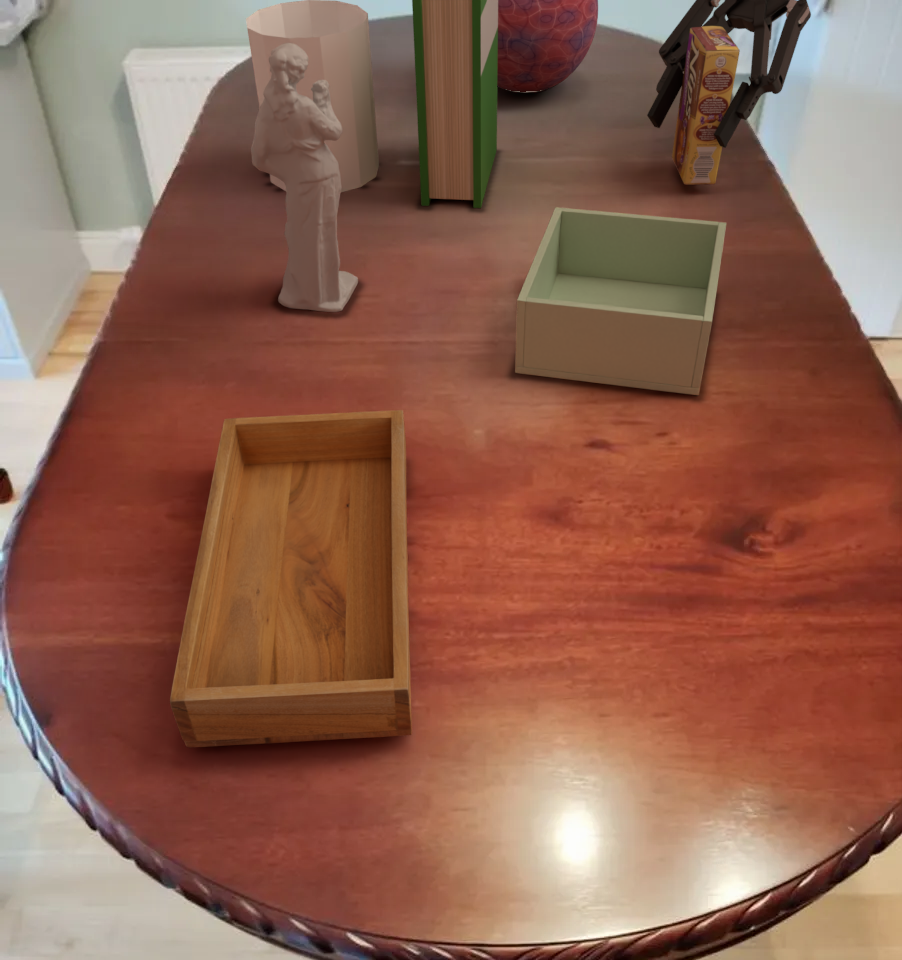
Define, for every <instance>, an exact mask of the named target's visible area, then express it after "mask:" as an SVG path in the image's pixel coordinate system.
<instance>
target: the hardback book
mask: <svg viewBox="0 0 902 960" xmlns="http://www.w3.org/2000/svg"><path fill="white" fill-rule="evenodd" d="M411 6H412V9H411V10H412V29H413V50H414V52H413V54H414V72H415V73H414V74H415V93H416V94H415V95H416V97H415V98H416V117H417V118H416V120H417V138H418V139H417V140H418V141H417V142H418V159H419V160H418V162H419V163H418V164H419V165H418V166H419V181H420V182H419V184H420V185H419V186H420V187H419V188H420V204H421V206H422V207H423V206H425V207H429V206H430V203H431V201H432V199H438V200H461V201H463V200H464V201H472V203H473V205H472V206H473V209H481V208H482V206H483V202H484V199H485V195H486V191H487V187H488V184H489V180H490V176H491V173H492V168H493V166H494V162H495V158H496V154H497V149H498V87H497V67H498V0H411Z"/></svg>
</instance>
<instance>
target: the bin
mask: <svg viewBox="0 0 902 960" xmlns="http://www.w3.org/2000/svg"><path fill="white" fill-rule="evenodd" d="M726 229H727V222H723V221H713V220H704V219H703V220H702V219H691V218H680V217H669V216H658V215H648V214H638V213H637V214H635V213H624V212H614V211H603V210H602V211H601V210H592V209H581V208H580V209H579V208H571V207H570V208H569V207H557V206H555V207H554V210H553V213H552V215H551V216H550V220H549V222H548V224H547V227H546V229H545V232H544V234H543V236H542V239H541V240H540V244H539V246H538V249H537V251H536V253H535V256H534V258H533V260H532V263H531V265H530V267H529V270H528V272H527V275H526V277H525V279H524V282H523V285H522V288H521V289H520V292H519V294H518V297H517V299H516V317H515V318H516V319H515V321H516V322H515V353H514V355H515V357H514V358H515V359H514V373H515V374H522V375H530V376H537V377H546V378H554V379H561V380H570V381H579V382H587V383H594V384H601V385H602V384H603V385H611V386H618V387H627V388H636V389H644V390H651V391H659V392H668V393H675V394H676V393H677V394H684V395H692V396H699V395H700V390H701V386H702V379H703V373H704V368H705V363H706V358H707V352H708V347H709V341H710V335H711V329H712V325H713V317H714V313H715V304H716V300H717V299H716V297H717V291H718V285H719V278H720V270H721V266H722V265H721V264H722V257H723V250H724V244H725V236H726Z"/></svg>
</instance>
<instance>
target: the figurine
mask: <svg viewBox="0 0 902 960" xmlns="http://www.w3.org/2000/svg"><path fill="white" fill-rule="evenodd" d="M308 60H309V59H308V56H307V54H306V52H305V51H304V50H303V49H301V48H300V47H299V46H298V45H296V44H292V43H285V44H282V45H280V46H278V47H276V48H275V49H273V50H272V51H271V56H270V57H269V63H270V72H271V73H272V75H271V79H270V81H269V82H268V84H267V86H266V87H265V89H264V93H263V95H264V100H263V102H262V104H261V106H260V108H259V107H258V111H257V115H256V118H255V122H254V134H253V140H252V144H251V147H250V153H251V162H252V163H251V165H252V166H253V167H255V168H256V169H257V170H258V171H260V172H262V173H263V172H264V173H266V174H269V175H270V174H271V175H273V176H275V177H277V178H278V179H280V180H281V181H283V182H284V183H285V185H286V191H285V192H286V195H285V213H286V222H285V224H284V232H283V235H284V238H285V241H286V244H287V250H288V251H287V252H288V254H287V256H288V257H287V262H286V267H285V270H284V274H283V277H282V287H281V289H280V293H279V295H278V299H277V301H278V303H279V304H281V306H283V307H286V308H288V309H297V310H309V311H310V310H311V311H318V312H324V313H325V312H326V313H327V312H328V313H337V312H338V313H339V312H342V311H343V310H344V308H345V306H347V304H348V302H349V300H350V299H351V297H352V295H353V293H354V291H355V289H356V288H357V286H358V285H359V278H358V276H356V275H354V274H353V273H351V272H348V271H345V270H340V268H341V258H340V257H341V256H340V249H339V241H338V213H339V206H340V199H341V193H342V192H341V189H342V187H341V178H340V171H339V164H338V161H337V160H336V158H335V157H334V155H333V154H332V152H331V151H330V149H329V148H328V146H327V145H326V144H325V143H324V141H325V140H332V141H336V140H338V139H339V138H340V136H341V134H342V126H341V123H340V122H339V121H338V119H337V117H336V116H335V114H334V112H333V109H332V106H331V98H330V94H329V90H328V89H329V86H330V85H329V84H328V82H327V81H326V80H317V82H315V83H313V87H312V88H311V90H312V92H313V100H311V99H310V98H308V97H306V96H303V95H300V94H298V93H297V90H296V84H297V83H298V82H299V81H300V80H301V79H303V78H304V77H305V75H304V72H305V70H306V69H307V67H308V62H307V61H308ZM340 192H341V193H340Z"/></svg>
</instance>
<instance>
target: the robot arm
mask: <svg viewBox="0 0 902 960" xmlns="http://www.w3.org/2000/svg"><path fill="white" fill-rule="evenodd" d="M720 3H721V0H695V1H694V2H693V4H692V5H691V6H690V8H689V9H688V10H687V11H686V13H685V14H684V15H683V17H682V19H681V20H680V21H679V22H678V24H677V25H676V26H675V28H674V29H673V30H672V32H671V33H670V35H669V36H668V37H667V38H666V40H665V41H664V42H663V44H662V45H661V46H660V48H659V49H658V55H659V56H660V58H661V59H662V62H663V64H664V65H665V69H664V71H663V73H662V74H661V77H660V78H659V81H658V82H657V84H656V88H655V91H656V92H657V95H656V97H655V99H654V100H653V103H652V105H651V107H650V108H649V110H648V113H647V114H646V116H647V117H648V119H649V121H650V122H651V124H652V126H653V127H654V128H657V129H660V128H661V126H662V124H663V123H664V121H665V118H666V116H667V115H668V113H669V111H670V109H671V107H672V105H673V103H674V102H675V100H676V98H677V96H678V94H679V93H680V91H681V89H682V82H683V75H684V68H685V61H686V54H687V48H688V41H689V34H690V28H693V27H702V26H720V27H723V28H724V29H725V31H726V32H727V33H728V34H730V33H731V32H732V31H733V30H734V29H736V30H743V29H744V30H747V31H748V32H750V33H753V41H752V54H751V67H750V75H749V76H748V80H749V81H750V83H748V82H746V81H741V83H740V84H739V86H738V89H737V90H736V92H735V94H734V96H733V97H732V99H731V101H730V105H729V107H728V109H727V111H726V113H725V115H724V116H723V118H722V120H721V122H720V124H719V126H718V128H717V129H716V131H715V133H714V136H715V137H716V139H717V141H718V143H719V145H720V146H721V147H722V148H727V146H728V144H729V143H730V140H732V137H733V135H734V133H735V131H736V130H737V127H738V126H739V124H740V122H741V120H744V121H747V119H749V117H751V115H752V113H753V111H754V109H755V107H756V105H757V103H758V102H759V100H760V98H761V97H762V96H763V95H764V94H766V93H772V94H773V95H778V94H780V93H781V92H782V91H783V87H784V85H785V81H786V78H787V75H788V72H789V69H790V66H791V62H792V60H793V56H794V53H795V51H796V47H797V44H798V41H799V38H800V36H801V32H802V30H803V29H804V27H805V26H806V25H807V23H808V21H809V20H810V18H811V16H812V12H811V10H810V6H809V4H808V1H807V0H724V1H723V2H722V3H721V4H720ZM714 9H715V10H714ZM711 14H712V16H711ZM783 15H785V16H786V18H785V20H784V24H783V26H782V30H781V33H780V36H779V38H778V42H777V44H776V47H775V51H774V54H773V58H772V61H771V64H770V67H769V70H768V66H769V55H770V54H769V52H770V43H771V42H770V41H771V40H772V31H773V30H772V29H773V23H774V22H775V21H776V20H778V19H779V18H781V17H782V16H783ZM710 16H711V17H710ZM709 17H710V18H709ZM726 17H727V19H726Z"/></svg>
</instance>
